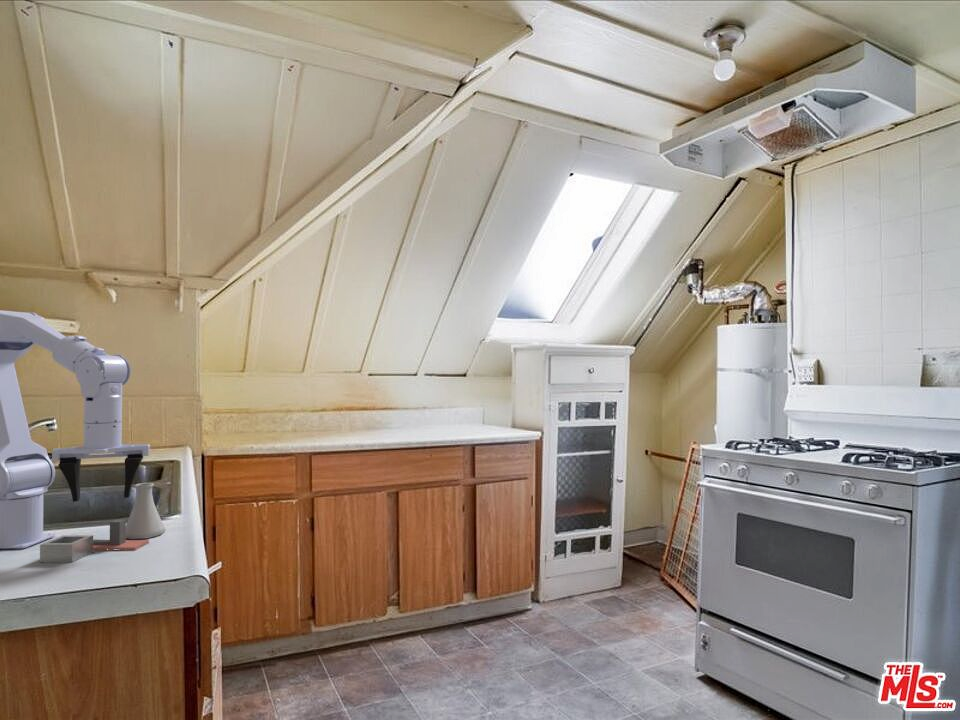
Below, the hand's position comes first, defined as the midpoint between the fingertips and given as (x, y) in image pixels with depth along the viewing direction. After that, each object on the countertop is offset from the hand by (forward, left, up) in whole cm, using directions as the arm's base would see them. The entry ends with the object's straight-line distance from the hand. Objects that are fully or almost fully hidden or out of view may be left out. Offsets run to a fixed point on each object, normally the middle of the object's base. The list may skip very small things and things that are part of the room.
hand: (102, 498), depth 104 cm
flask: (+1, +11, -10) cm, 15 cm away
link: (-4, -3, -10) cm, 11 cm away
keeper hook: (+1, +3, -10) cm, 10 cm away
